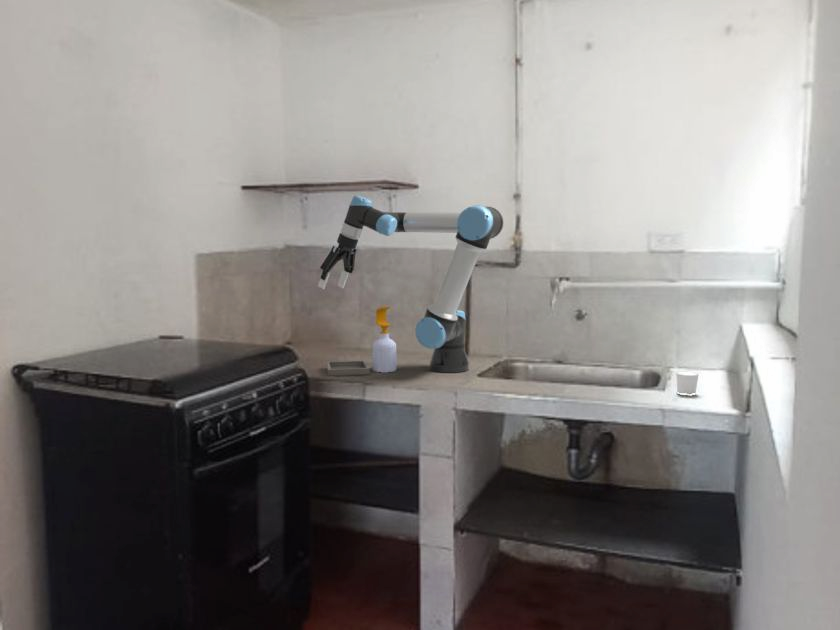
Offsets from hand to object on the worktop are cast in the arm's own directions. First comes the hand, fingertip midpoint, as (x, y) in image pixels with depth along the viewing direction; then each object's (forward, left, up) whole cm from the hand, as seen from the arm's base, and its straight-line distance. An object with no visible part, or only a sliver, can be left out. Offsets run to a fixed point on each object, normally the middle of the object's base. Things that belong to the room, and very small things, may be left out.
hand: (330, 287), depth 275 cm
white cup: (-112, +66, -31) cm, 134 cm away
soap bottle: (-19, +12, -31) cm, 39 cm away
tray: (-5, +12, -31) cm, 34 cm away
